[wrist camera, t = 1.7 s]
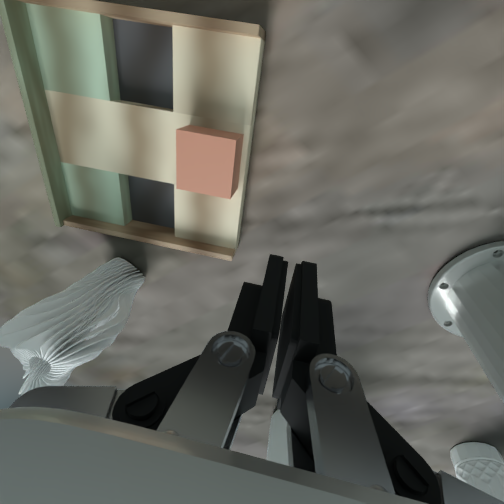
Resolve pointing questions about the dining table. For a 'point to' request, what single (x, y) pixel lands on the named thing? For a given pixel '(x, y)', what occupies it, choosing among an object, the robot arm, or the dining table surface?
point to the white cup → (480, 467)
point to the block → (208, 160)
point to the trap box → (133, 114)
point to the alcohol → (278, 439)
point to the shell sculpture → (72, 324)
